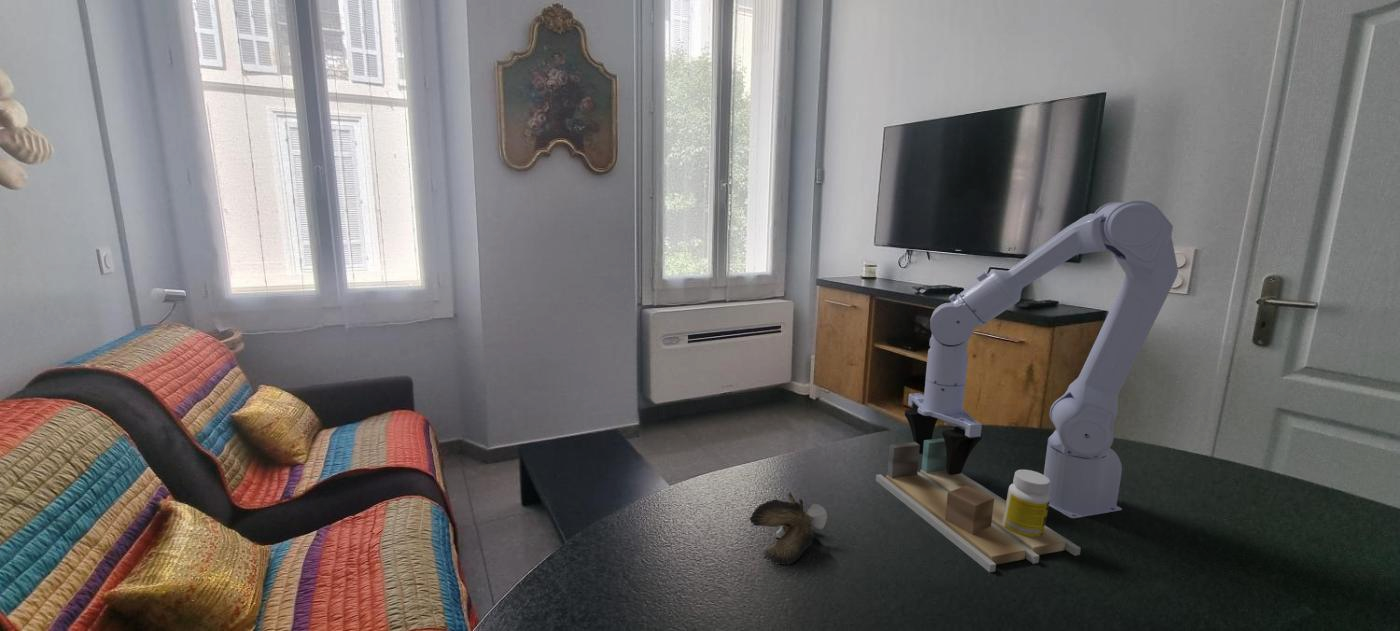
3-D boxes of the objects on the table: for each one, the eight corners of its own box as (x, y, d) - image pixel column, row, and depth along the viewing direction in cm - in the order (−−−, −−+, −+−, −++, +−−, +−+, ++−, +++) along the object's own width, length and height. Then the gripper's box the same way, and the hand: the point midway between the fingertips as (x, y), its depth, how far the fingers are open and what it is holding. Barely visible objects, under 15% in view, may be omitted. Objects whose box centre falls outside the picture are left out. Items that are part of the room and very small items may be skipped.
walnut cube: (963, 512, 79) (966, 485, 78) (991, 526, 75) (994, 498, 75) (945, 520, 77) (947, 492, 76) (972, 534, 73) (975, 505, 73)
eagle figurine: (772, 510, 80) (736, 526, 73) (802, 477, 77) (768, 490, 70) (809, 557, 76) (775, 578, 69) (842, 523, 74) (810, 542, 67)
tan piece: (946, 473, 93) (949, 437, 92) (1064, 550, 72) (1070, 504, 71) (919, 476, 92) (922, 440, 91) (1032, 556, 71) (1038, 510, 70)
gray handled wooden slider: (913, 478, 91) (916, 441, 90) (1024, 559, 70) (1030, 512, 69) (885, 482, 90) (888, 445, 89) (991, 565, 69) (996, 518, 68)
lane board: (948, 473, 94) (949, 465, 94) (1079, 558, 71) (1080, 547, 71) (875, 483, 91) (876, 474, 90) (989, 576, 68) (990, 565, 68)
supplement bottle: (1047, 548, 73) (1060, 488, 71) (1007, 542, 74) (1018, 482, 72) (1033, 527, 77) (1045, 470, 76) (996, 521, 78) (1006, 465, 76)
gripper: (895, 369, 94) (889, 447, 97) (956, 397, 81) (947, 486, 83) (931, 366, 96) (924, 442, 99) (997, 393, 83) (987, 481, 85)
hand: (937, 462), depth 91 cm, fingers open, 7 cm apart
